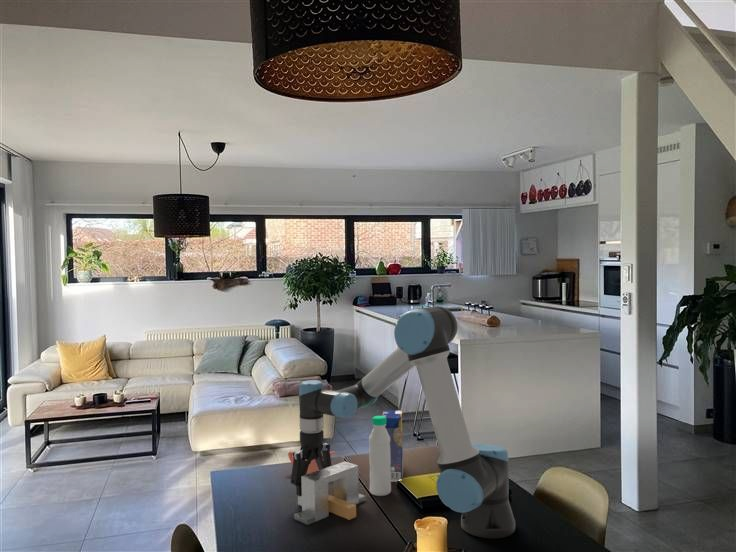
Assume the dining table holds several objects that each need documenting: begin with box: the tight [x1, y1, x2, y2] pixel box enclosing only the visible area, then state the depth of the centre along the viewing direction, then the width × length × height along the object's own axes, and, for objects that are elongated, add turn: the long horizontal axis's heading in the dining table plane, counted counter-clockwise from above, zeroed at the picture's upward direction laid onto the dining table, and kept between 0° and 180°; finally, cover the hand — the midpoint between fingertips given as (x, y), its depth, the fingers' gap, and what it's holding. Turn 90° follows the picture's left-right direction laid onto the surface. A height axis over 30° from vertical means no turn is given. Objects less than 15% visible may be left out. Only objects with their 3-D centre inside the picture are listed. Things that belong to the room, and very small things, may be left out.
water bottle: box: [368, 415, 392, 497], centre depth 197 cm, size 7×7×25 cm
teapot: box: [287, 450, 336, 475], centre depth 215 cm, size 12×18×10 cm
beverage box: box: [381, 409, 404, 483], centre depth 212 cm, size 7×11×22 cm, turn 175°
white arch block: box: [293, 461, 367, 526], centre depth 184 cm, size 6×24×12 cm, turn 136°
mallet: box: [328, 493, 357, 521], centre depth 185 cm, size 20×5×8 cm, turn 46°
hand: (312, 501), depth 190 cm, fingers open, 8 cm apart
